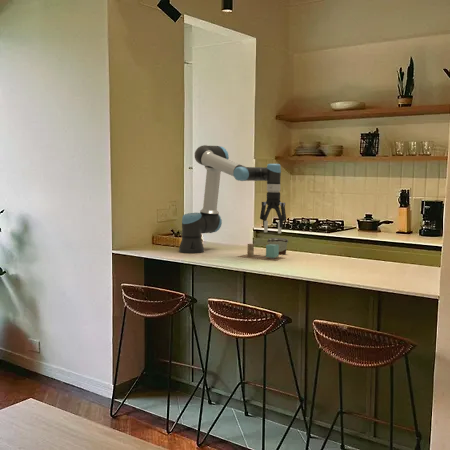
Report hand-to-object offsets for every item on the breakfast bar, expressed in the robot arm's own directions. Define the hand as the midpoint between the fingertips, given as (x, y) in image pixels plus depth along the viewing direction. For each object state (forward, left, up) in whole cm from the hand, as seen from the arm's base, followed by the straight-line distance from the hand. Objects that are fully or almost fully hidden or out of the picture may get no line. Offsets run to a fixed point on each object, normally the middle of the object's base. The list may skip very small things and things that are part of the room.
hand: (272, 232), depth 312 cm
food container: (-6, +18, -15) cm, 24 cm away
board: (-7, 0, -15) cm, 17 cm away
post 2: (0, 0, -14) cm, 14 cm away
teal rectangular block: (0, 0, -13) cm, 13 cm away
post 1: (-14, 0, -14) cm, 20 cm away
